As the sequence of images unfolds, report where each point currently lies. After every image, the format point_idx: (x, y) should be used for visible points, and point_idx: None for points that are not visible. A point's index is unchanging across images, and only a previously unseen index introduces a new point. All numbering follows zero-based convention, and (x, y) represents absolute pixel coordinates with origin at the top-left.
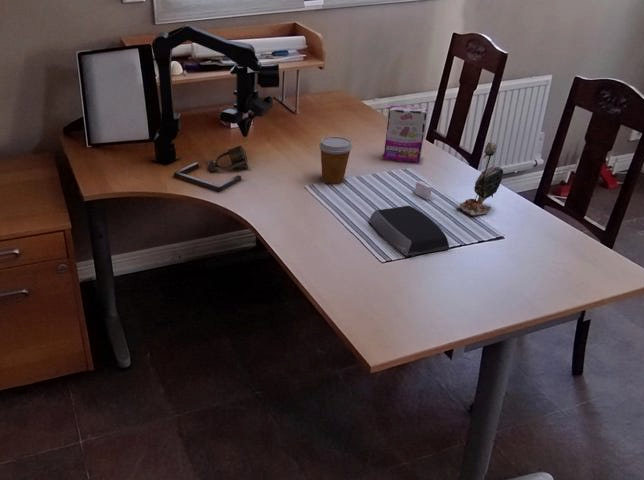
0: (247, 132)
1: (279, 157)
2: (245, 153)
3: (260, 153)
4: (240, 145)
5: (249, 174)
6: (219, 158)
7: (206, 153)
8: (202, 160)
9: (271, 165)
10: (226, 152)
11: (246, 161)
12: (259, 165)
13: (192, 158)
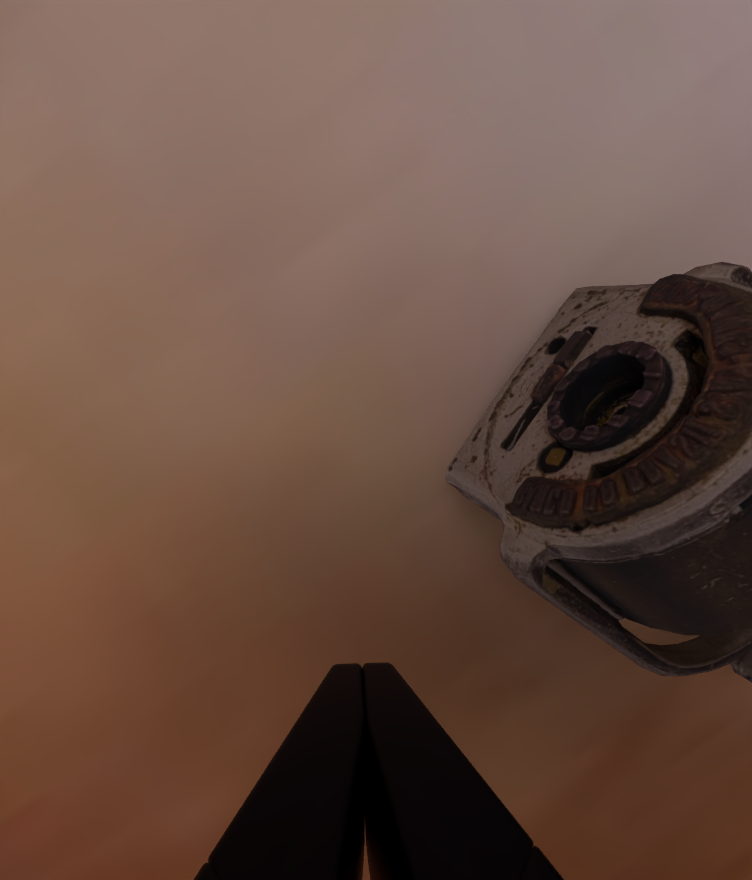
0: (348, 718)
1: (16, 196)
2: (733, 321)
3: (86, 474)
4: (691, 518)
5: (686, 187)
6: (697, 644)
7: None
8: (603, 790)
9: (303, 121)
10: (646, 650)
11: (714, 264)
12: (394, 256)
13: (609, 874)
